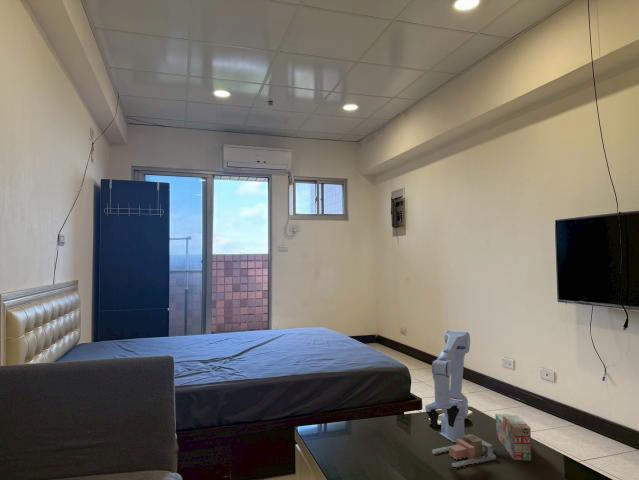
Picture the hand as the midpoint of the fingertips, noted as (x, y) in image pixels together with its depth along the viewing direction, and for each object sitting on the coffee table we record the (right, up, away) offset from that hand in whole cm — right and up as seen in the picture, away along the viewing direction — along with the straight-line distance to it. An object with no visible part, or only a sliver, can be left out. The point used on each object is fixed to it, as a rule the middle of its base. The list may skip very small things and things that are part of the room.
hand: (443, 427), depth 157 cm
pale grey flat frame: (+7, -10, -2) cm, 12 cm away
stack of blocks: (+29, -10, +5) cm, 31 cm away
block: (+11, -10, -1) cm, 15 cm away
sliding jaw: (+6, -10, -3) cm, 11 cm away
